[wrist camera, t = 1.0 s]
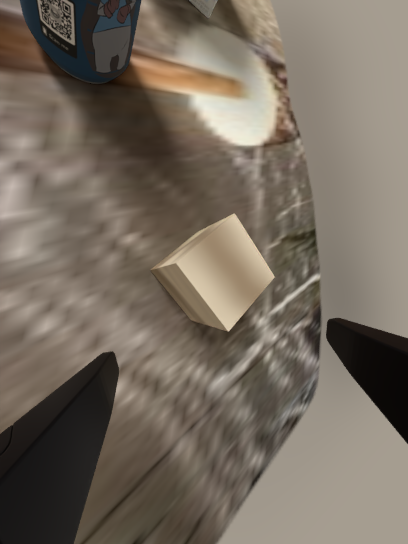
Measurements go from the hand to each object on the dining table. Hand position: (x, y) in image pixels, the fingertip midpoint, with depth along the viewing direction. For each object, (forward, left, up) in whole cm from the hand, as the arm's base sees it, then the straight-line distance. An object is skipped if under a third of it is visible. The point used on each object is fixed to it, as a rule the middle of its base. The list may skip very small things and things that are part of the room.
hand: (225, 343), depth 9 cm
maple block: (+5, 0, -11) cm, 12 cm away
